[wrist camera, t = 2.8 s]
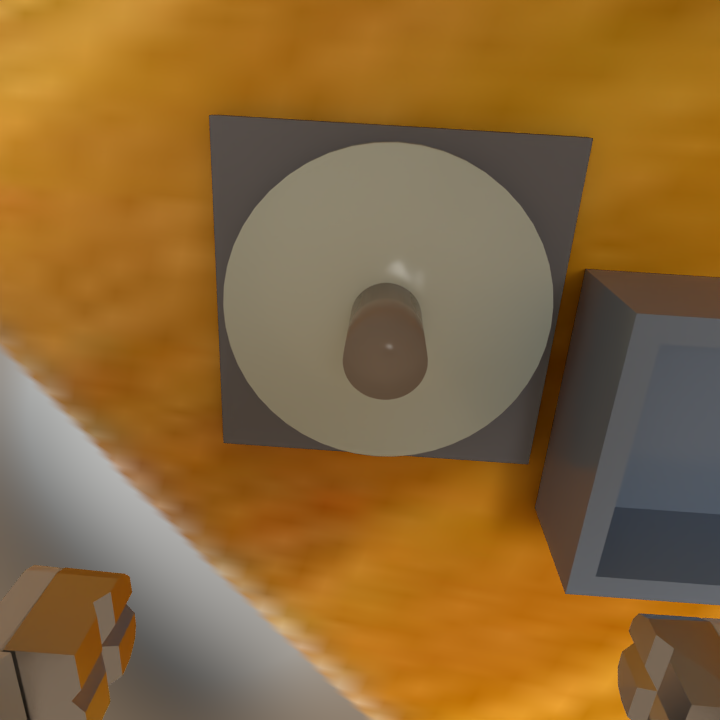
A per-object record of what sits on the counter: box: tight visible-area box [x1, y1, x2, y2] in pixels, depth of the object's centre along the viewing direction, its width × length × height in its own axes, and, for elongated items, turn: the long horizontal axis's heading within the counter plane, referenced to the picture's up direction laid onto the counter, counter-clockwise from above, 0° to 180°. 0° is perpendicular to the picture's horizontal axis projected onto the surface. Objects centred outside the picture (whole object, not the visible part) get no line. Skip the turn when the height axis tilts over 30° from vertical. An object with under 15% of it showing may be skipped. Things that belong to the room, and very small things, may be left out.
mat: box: [209, 115, 593, 464], centre depth 25 cm, size 14×14×1 cm
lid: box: [223, 141, 553, 456], centre depth 22 cm, size 13×13×5 cm
